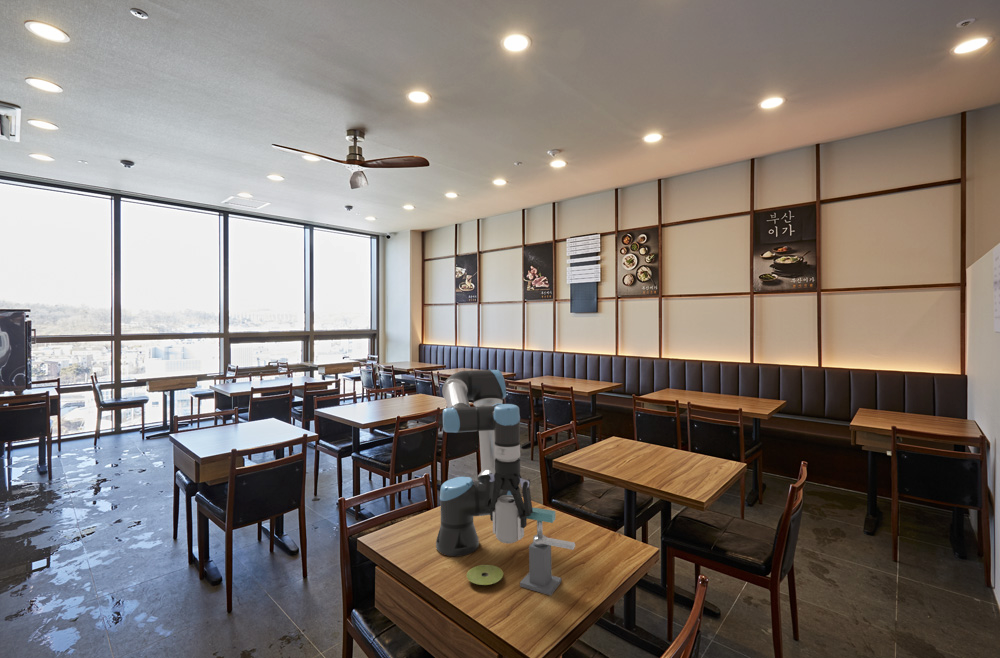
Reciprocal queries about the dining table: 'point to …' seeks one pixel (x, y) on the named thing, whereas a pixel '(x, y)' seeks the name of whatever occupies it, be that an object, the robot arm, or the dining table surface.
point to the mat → (484, 574)
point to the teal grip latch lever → (540, 538)
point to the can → (506, 519)
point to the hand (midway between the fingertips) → (508, 534)
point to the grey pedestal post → (540, 571)
